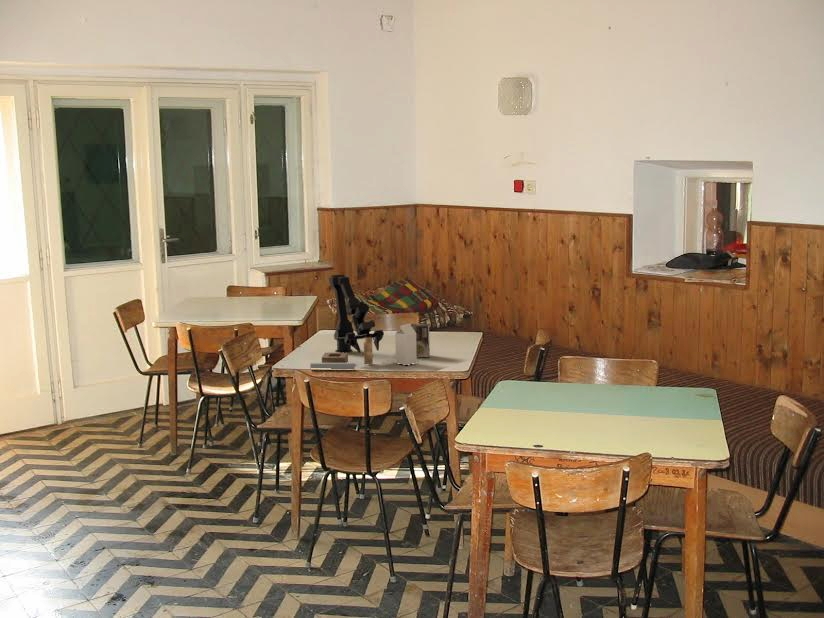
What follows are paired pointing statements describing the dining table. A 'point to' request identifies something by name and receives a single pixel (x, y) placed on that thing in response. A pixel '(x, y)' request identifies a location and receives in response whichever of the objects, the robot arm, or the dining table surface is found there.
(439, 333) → the dining table surface
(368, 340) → the dowel
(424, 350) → the coffee box
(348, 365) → the stop rail
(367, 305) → the robot arm
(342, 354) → the socket block
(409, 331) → the milk carton
